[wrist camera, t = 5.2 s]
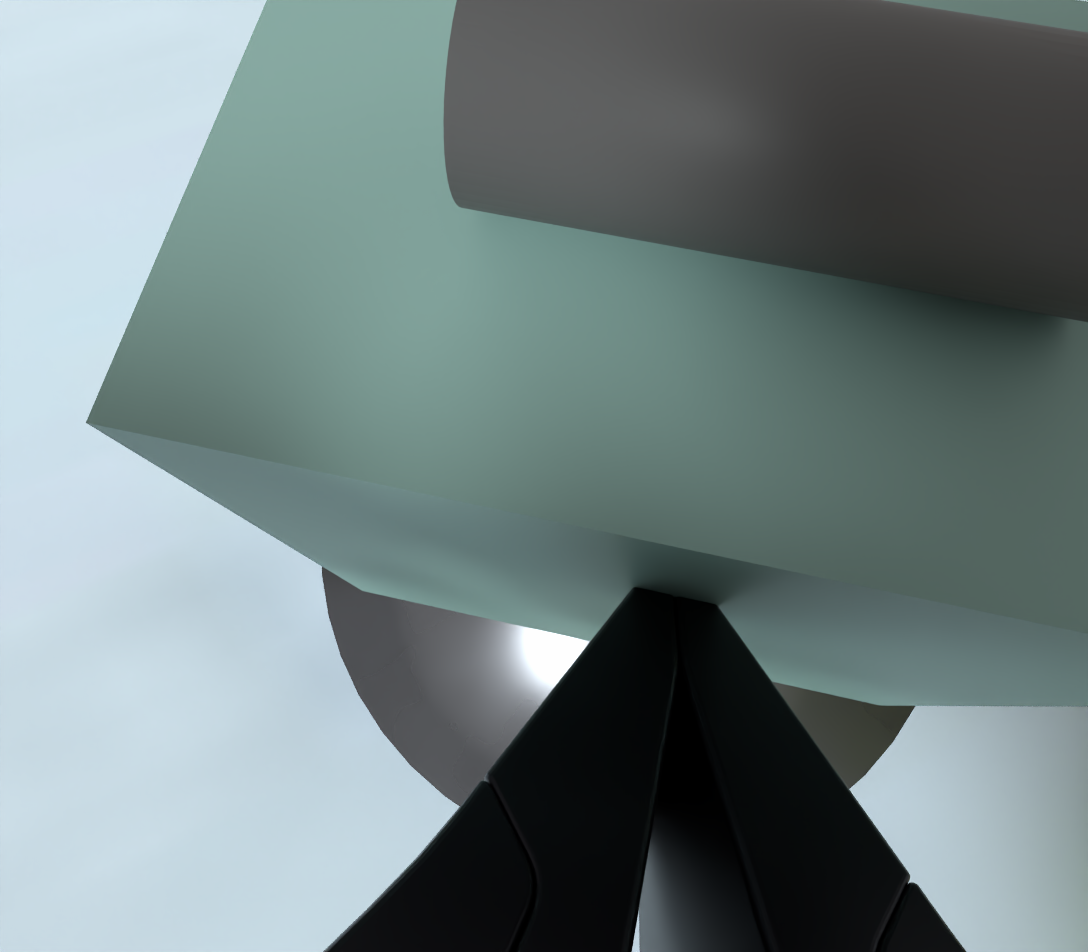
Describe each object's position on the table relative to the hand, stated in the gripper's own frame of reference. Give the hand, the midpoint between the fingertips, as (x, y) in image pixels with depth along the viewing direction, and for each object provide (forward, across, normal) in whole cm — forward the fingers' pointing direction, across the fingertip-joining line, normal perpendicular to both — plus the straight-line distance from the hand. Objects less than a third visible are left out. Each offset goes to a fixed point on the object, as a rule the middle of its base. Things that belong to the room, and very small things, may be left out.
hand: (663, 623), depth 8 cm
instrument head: (+7, 0, +2) cm, 8 cm away
